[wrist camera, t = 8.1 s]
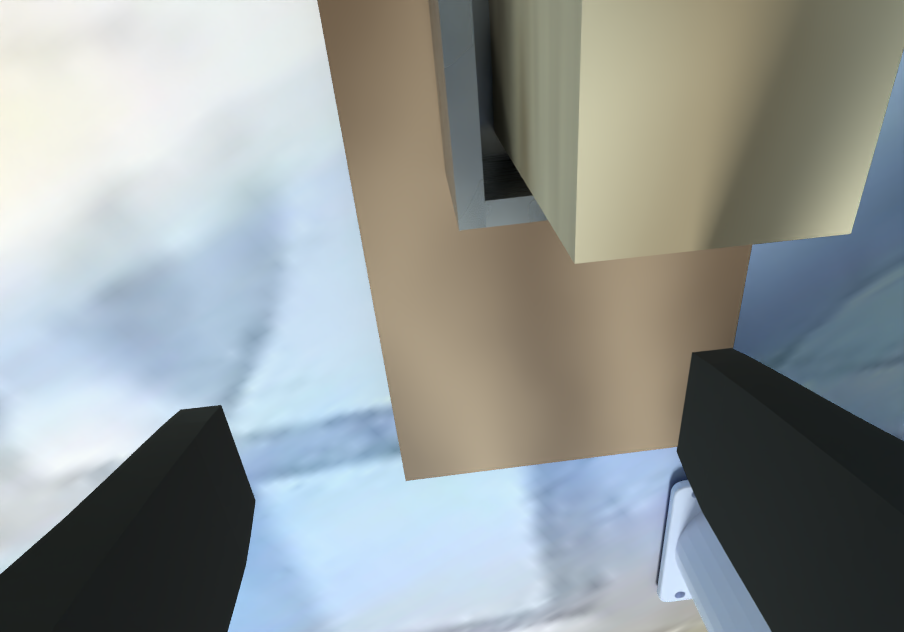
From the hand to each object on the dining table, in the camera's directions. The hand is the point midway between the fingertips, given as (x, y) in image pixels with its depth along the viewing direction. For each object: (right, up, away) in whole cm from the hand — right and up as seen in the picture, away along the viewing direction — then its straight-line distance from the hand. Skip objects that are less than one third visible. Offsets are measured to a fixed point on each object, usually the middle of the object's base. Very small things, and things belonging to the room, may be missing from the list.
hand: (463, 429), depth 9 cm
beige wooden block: (+3, +8, +5) cm, 10 cm away
